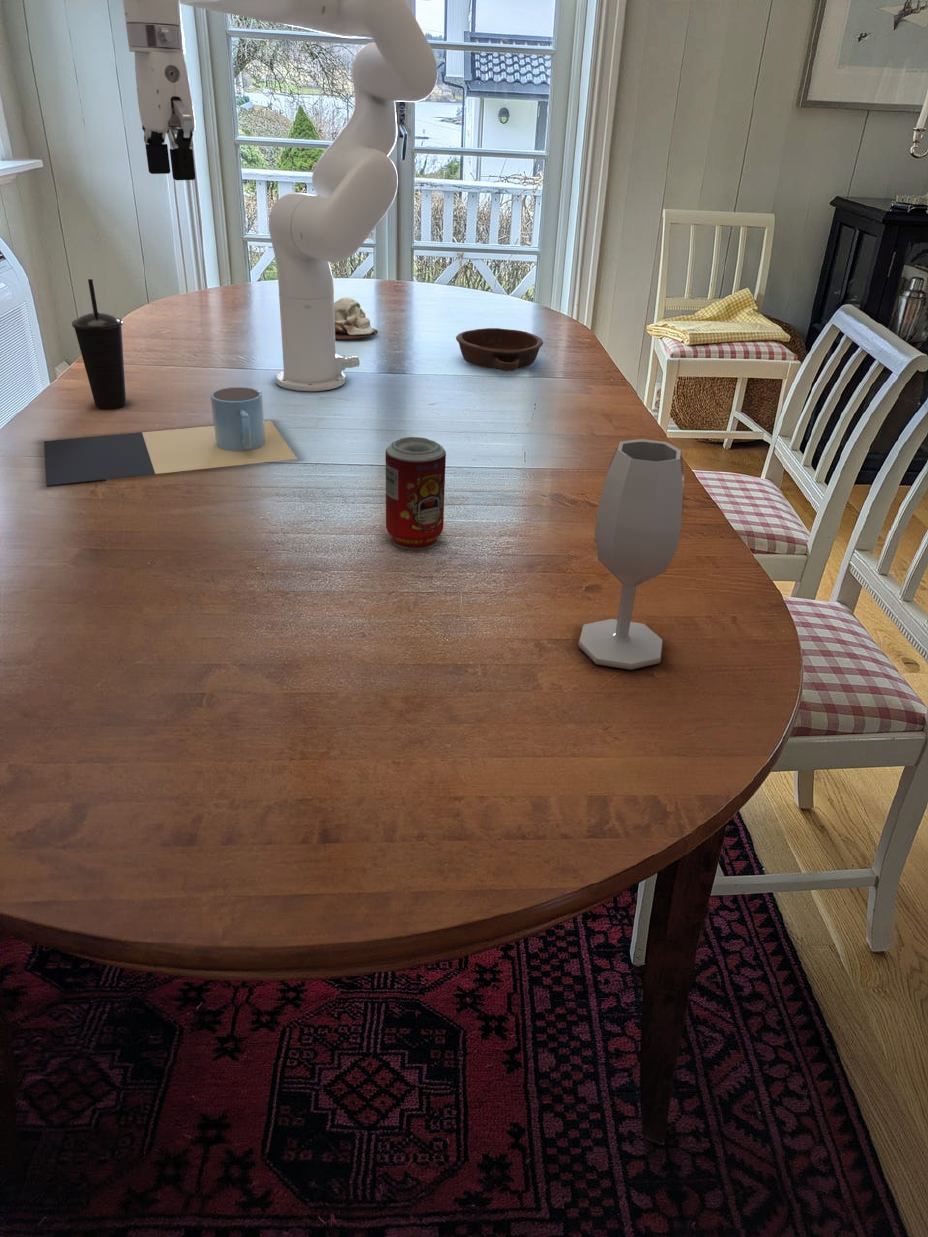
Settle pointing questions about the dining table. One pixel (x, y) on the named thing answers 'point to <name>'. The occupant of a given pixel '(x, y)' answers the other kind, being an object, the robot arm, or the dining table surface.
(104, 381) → the drinking cup
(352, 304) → the skull
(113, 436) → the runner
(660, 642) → the wineglass
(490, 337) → the dish
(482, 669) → the dining table surface
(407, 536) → the soda can
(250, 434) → the mug
